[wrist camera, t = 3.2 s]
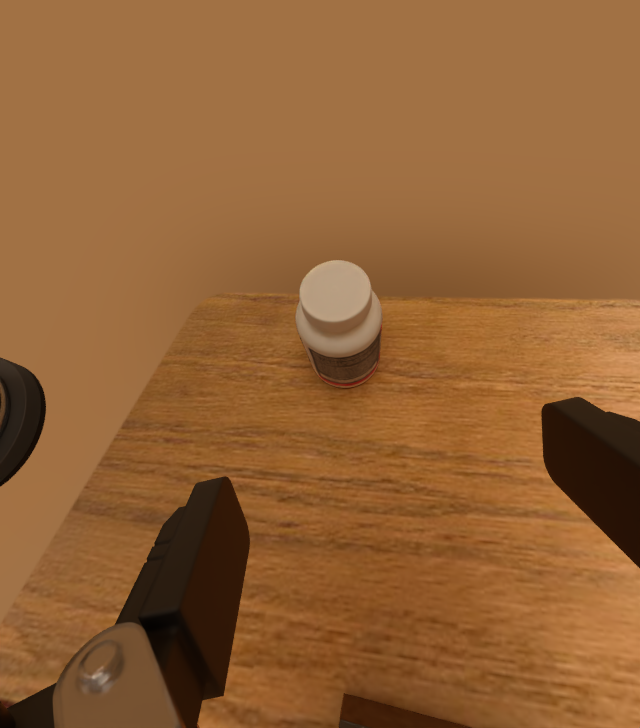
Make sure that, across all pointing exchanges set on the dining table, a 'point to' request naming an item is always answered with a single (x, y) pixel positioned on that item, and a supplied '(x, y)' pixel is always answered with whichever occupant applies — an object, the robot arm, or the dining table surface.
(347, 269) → the pill bottle
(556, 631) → the dining table surface
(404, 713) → the black dial box
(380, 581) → the dining table surface
